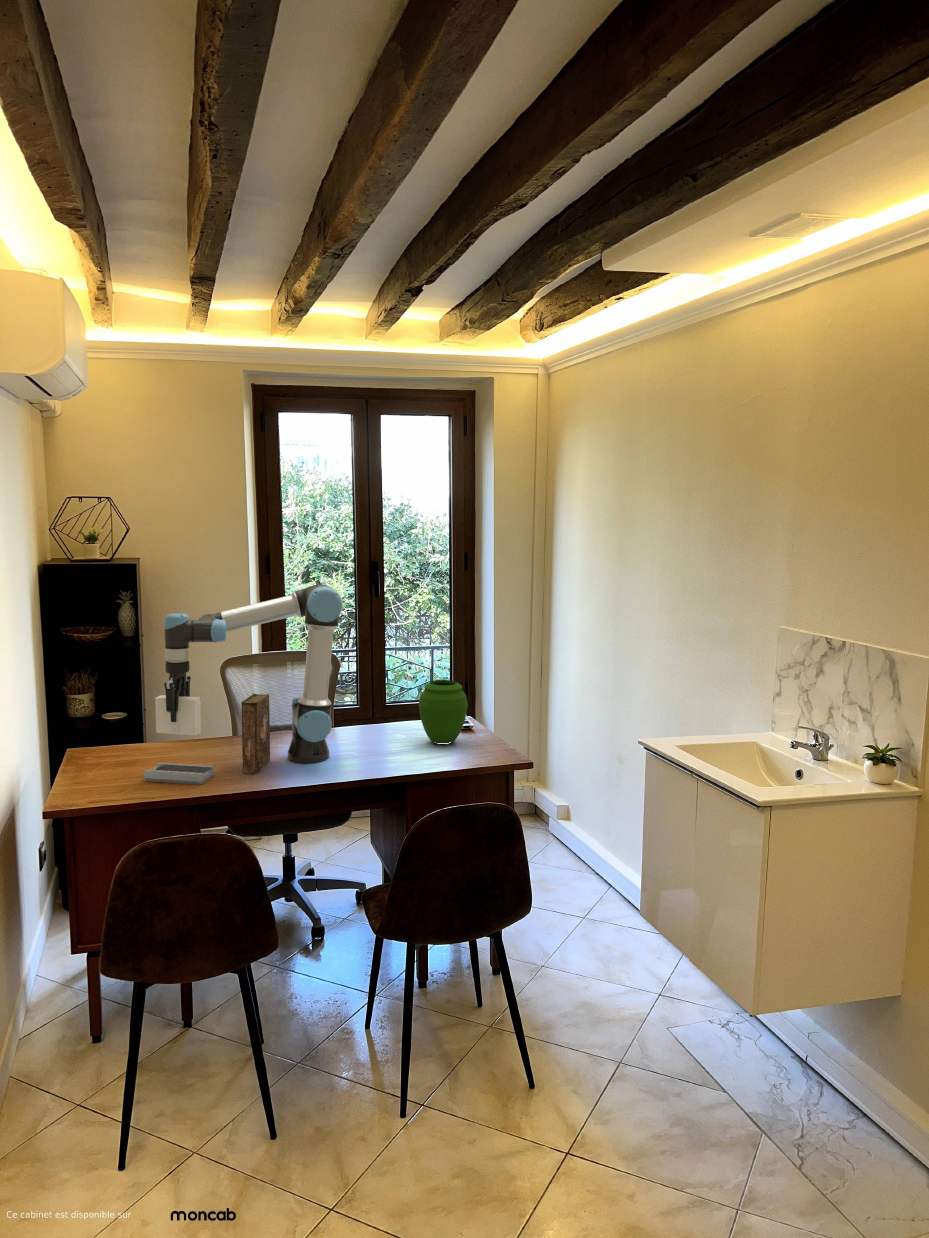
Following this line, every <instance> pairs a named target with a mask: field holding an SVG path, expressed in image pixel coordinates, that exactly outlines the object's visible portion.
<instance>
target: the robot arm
mask: <svg viewBox="0 0 929 1238" xmlns="http://www.w3.org/2000/svg"><path fill="white" fill-rule="evenodd" d="M342 610H343V601H342V596H341V595H340V594H339V592H338V591H337V590H336V589H334V588H333V587H331V586H329V585H326V584H322V583H318V584H317V583H316V584H312V585H310V586H308V587H304V588H301V589H298V590H295V591H292V593H291V594H290V595H286V596H285V595H284V596H281V597H278V598H274V599H269V600H265V601H260V602H257V603H252V604H249V605H243V606H240V607H239V606H238V607H236V608H232V609H231V608H230V609H228V610H227V609H226V610H223V611H220V612H215V613H207V614H204V615H202V616H200V617H199V618H198V619H190V618H189V615H188V614H187V613H168V614H167V615H166V616H165V617H164V653H165V660H166V661H165V666H164V667H165V672H166V673H167V674H168V675H169V677H168V681H167V682H164V689H165V690H164V691H165V695H166V711H167V712H170V715H171V731H177V732H179V731H180V728H179V712H178V701H179V696H185V697H191V680H192V679H191V675H187V673H189V672H190V670H191V669H190V661H189V660H190V643H215V644H216V643H220V642H222V643H223V642H225V641H226V640H227V633H229V632H233V631H238V630H242V629H246V628H251V627H255V626H259V625H262V624H266V623H270V622H275V621H279V620H285V619H288V618H291V617H295V616H297V617H299V618H302V617H304V625H305V626H306V627H307V628H308V631H307V643H306V644H307V646H306V655H305V657H306V658H305V667H304V679H303V688H302V689H303V691H302V692H303V693H302V695H301V696H299V695H298V696H295V697H293V698H292V699H291V718H292V719H291V722H292V723H291V725H292V727H291V730H292V731H291V733H292V735H291V736H292V737H291V740H290V743H289V747H288V750H287V759H288V761H290V762H294V763H298V764H310V763H311V764H312V763H319V762H324V761H326V760H328V759H329V758H330V750H329V749H330V748H329V746H328V743H327V740H326V738H327V737H328V736H329V734H331V731H332V725H333V723H332V717H331V714H332V702H331V700H330V699H329V697H328V696H329V686H330V685H329V684H330V674H331V662H332V653H333V642H334V639H333V638H334V631H335V630H336V629H337V628H338V627H339V624H340V622H339V621H340V615H341V612H342Z"/></svg>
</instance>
